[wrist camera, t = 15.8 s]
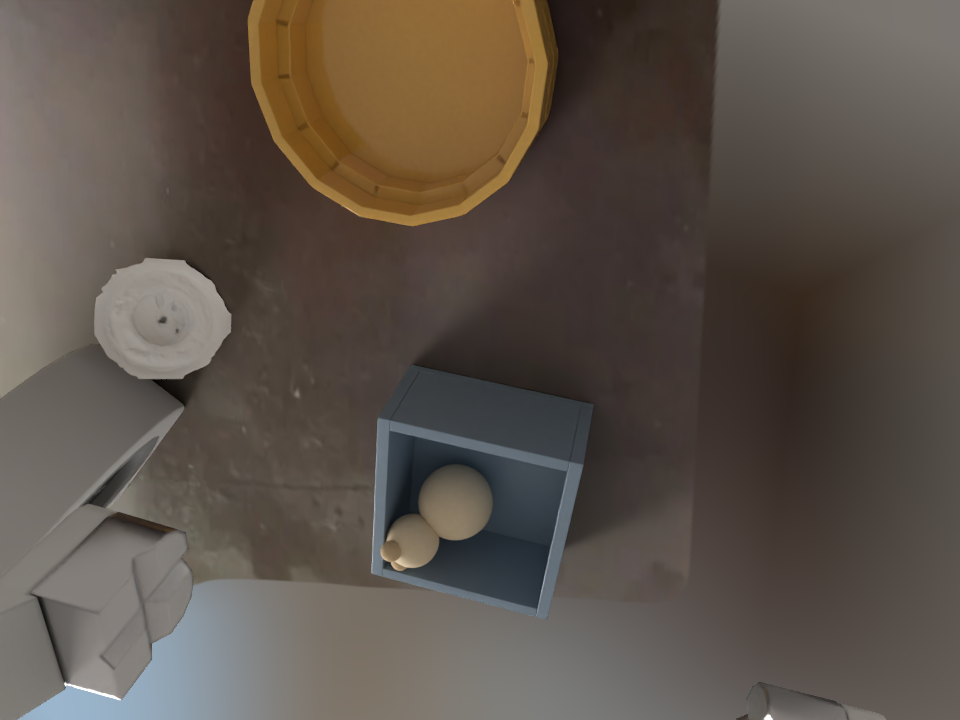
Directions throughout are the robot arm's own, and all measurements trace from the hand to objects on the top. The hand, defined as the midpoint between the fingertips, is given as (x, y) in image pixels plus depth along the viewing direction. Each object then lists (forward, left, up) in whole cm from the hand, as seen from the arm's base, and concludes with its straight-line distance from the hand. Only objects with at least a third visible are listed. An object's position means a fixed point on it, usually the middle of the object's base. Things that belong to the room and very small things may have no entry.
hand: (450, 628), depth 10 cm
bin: (+4, +24, -33) cm, 41 cm away
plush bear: (+4, +24, -32) cm, 40 cm away
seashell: (+27, +16, -33) cm, 46 cm away
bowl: (+11, -2, -33) cm, 35 cm away
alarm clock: (+35, +29, -33) cm, 56 cm away
